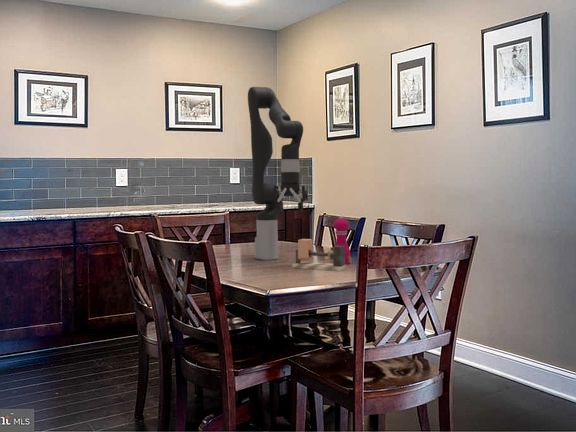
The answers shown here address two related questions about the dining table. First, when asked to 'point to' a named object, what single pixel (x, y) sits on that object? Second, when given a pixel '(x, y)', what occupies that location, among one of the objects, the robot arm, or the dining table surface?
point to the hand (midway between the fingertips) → (290, 211)
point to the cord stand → (337, 265)
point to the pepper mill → (342, 235)
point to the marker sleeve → (304, 249)
